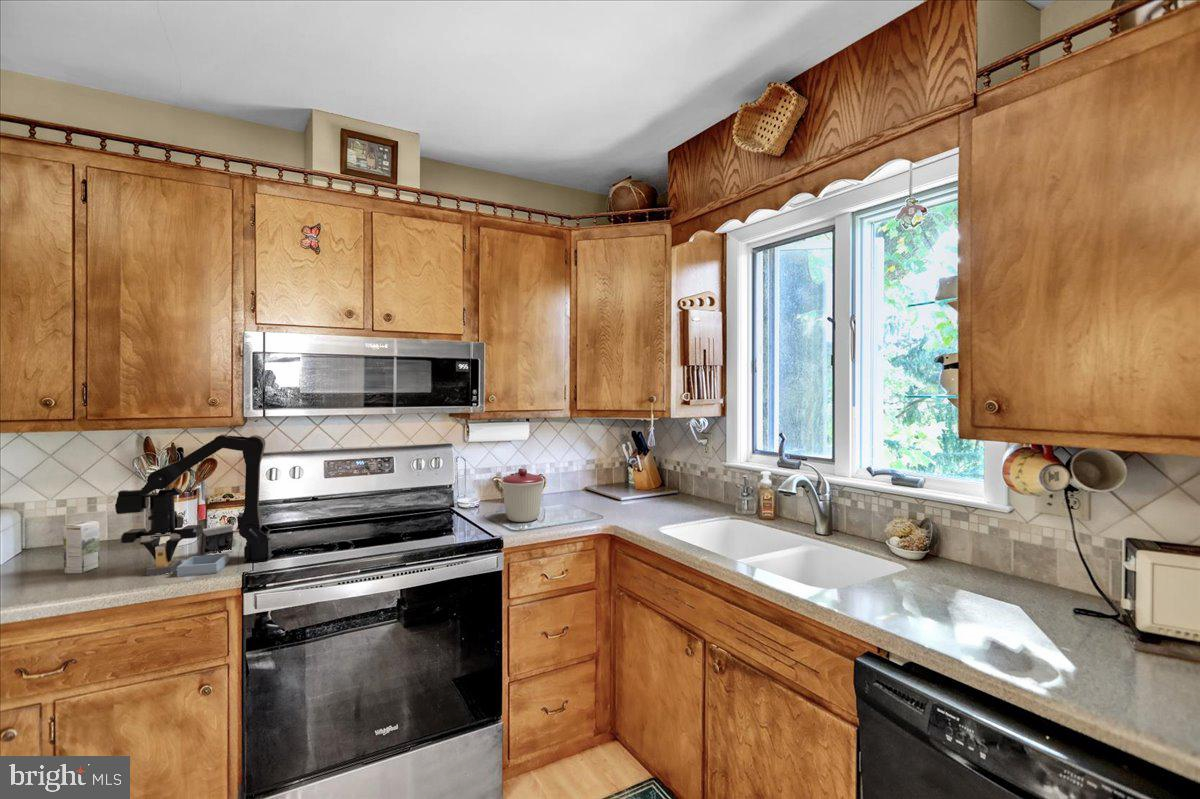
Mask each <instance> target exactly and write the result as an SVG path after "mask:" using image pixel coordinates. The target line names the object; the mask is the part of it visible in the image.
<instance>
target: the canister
mask: <svg viewBox="0 0 1200 799" xmlns="http://www.w3.org/2000/svg"><path fill="white" fill-rule="evenodd" d="M517 472H518V473H517V474H509V475H506V476H505V477H503V478H501V480H500V483H501V484H502V485H501V486H502V492H503V501H504V508H505V515H506V517H507V519H508V520H509V521H511V522H515V523H516V522H517V523H529V522H533V521H536V520H537V519H538V518H539V516H540V513H541V506H542V500H543V498H542V497H543V488H544V487H543V486H544V482H545V481H546V480H545V478H543V477H542V476H541V475H538V474H534V473H533V474H530V473H528V470H527V469H526V468H520V469H519V470H518V471H517Z"/></svg>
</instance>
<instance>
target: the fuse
mask: <svg viewBox="0 0 1200 799" xmlns="http://www.w3.org/2000/svg"><path fill="white" fill-rule="evenodd" d="M155 550H156V561H155V563H156V567H166V566H168V565H169V564H171V563H172V561H173V558H172V559H171V561H170V562H168V560H167V550H166V542H163V543H159V545H158V546H157V547H155Z"/></svg>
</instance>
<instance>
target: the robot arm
mask: <svg viewBox="0 0 1200 799" xmlns="http://www.w3.org/2000/svg"><path fill="white" fill-rule="evenodd" d="M266 444H267V443H266V440H265V439H264V438H263V437H262V436H260V435H254V434H253V435H251V436H248V437H247V436H238V435H237V436H236V435H227V434H220V435H218V436H216V437H214V439H212V440H210V441H208V442H207V443H206V444H204V445H202V446H201V447H199V448H198V449H196V450H193V451H192V452H190V453H189V454H188V455H186V456H184V457H182V458H181V459H180V460H177V461H175V462H173V463H170V464H167V465H164V466H163V467H161V468H158V469H156V470H154V471H152V472H151V473H149V474H148V476H147V477H146V478H147V479H146V484H145V485H144V486H143V487H141V489H134V490H133V489H132V490H127V489H123V490H119V491H117V497H116V502H115V503H114V505H115V506H114V507H115V512H116V514H117V515H125V514H126V515H127V514H137V513H143V512H145V509H148V508H149V515H148V519H147V520H148V521H150V529H149V530H147V529H146V528H145V527H143V528H131V529H129V530H127V531H125V532H123V533H122V534H121V537H120V543H121V544H129V543H134V542H135V541H137V540H138V539H141V540H140V542H139V544H140V545H142V546H144V547H145V549H147V551H149V553H150V555H151V556H152V558H153V559H154V560H155V562H156V550H155V547H157V546H158V545H160V541H161V538H163V537H169V539H168V540H166V541H165V543H166V550H167V560H168V562H170V561H171V559H172V560H173V556H174V554H175V551H176V548H177V546H178V545H179V542H181V541H182V540H184V539H186V540H187V539H195V538H196V539H197V538H199V535H201V534H202V533H203V529H204V528H203V526H202V524H192V525H191V524H189V525H186V526H184V517H185V516H180V515H178V513H177V511H175V510H176V509H175V496H180V495H181V494H182V493H183V490H181V489H180V488H179V487H178V486H173V487H171V488H169V489H166V488H168V487H169V486H171V485H172V484H174V483H175V481H177V480H178V479H179V478H180V477H181V476H183V474H184V473H186V472H187V471H188V470H189V469H191V468H193V467H194V466H196V465H197V464H199V463H201V462H202V461H204V460H206V459H208V458H209V457H211V456H212V455H214V454H215V453H217V452H219V451H220V450H221V449H228V450H232V451H240V452H242V456H243V459H244V464H245V481H244V505H243V506H244V507H243V508H244V509H243V512H240V513H239V514H238V515H237V516H236V521H237V527H236V531H238V533H239V536H240V537H241V538H243V539H245V546H244V547H243V554H244V556H243V558H244V563H245V564H249V563H250V564H251V563H259V562H260V563H261V562H267V561H269V560H270V559H271V558H272V557H273V556H274V554H273V553H272V538H271V537H269V535H270V532H271V529H270V528H268V527H267V526H265V525H264V524H263V519H262V514H261V509H260V487H261V486H260V482H261V481H260V480H261V479H260V478H261V464H262V460H263V456H264V451H265V447H266ZM155 490H158V492H155V493H152V492H154V491H155Z"/></svg>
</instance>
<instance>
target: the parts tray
mask: <svg viewBox="0 0 1200 799" xmlns="http://www.w3.org/2000/svg"><path fill="white" fill-rule="evenodd" d="M229 553H230V552H227V553H222V554H215V555H201V556H200V555H193V556H190V557H189V558H187V559H186V560H184V561H183V562H181V564H180V565H179V566H177V570H176V577H177V576H184V577H192V576H191V575H195V576H206V575H215V573H217V574H218V573H219V572H220V571H222V570H223V569H224V568H225V567H226V566H227V565H228V564H229V563H230V554H229ZM228 562H229V563H228ZM227 563H228V564H227ZM226 564H227V565H226ZM225 565H226V566H225ZM224 566H225V567H224ZM223 567H224V568H223ZM222 568H223V569H222ZM221 569H222V570H221Z"/></svg>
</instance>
